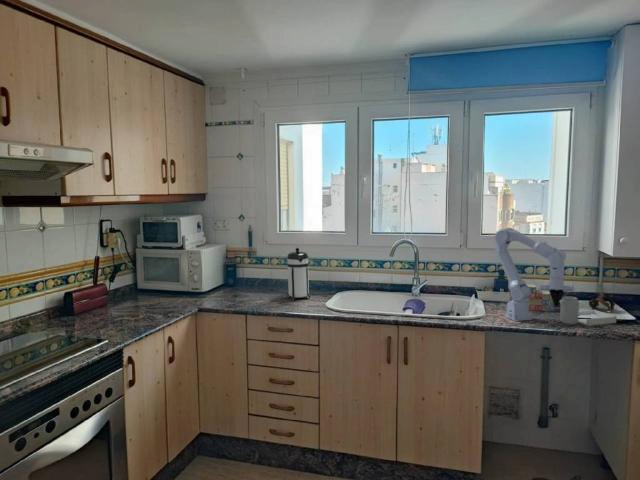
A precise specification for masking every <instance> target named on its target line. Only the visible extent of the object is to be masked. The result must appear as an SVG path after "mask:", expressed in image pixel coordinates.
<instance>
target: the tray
mask: <svg viewBox="0 0 640 480" xmlns="http://www.w3.org/2000/svg"><path fill="white" fill-rule="evenodd" d="M591 314H595V315H597V316H600V317H601V318H591V319H578V324H582V325H585V326H587V327H591V326H592V327H593V326H601V325H611V324H616V323H617V316H615V315H612V314H610V313H607V312H603V311H599V310H597V309H592V310H591V309H585V310H579V316H580V315H591Z"/></svg>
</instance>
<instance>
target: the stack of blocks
mask: <svg viewBox="0 0 640 480" xmlns="http://www.w3.org/2000/svg"><path fill="white" fill-rule="evenodd" d="M526 285H527V286H529V287H530V289H531V295H530V296H529V311H537V312H554V313H555V312H556V307H554V304H553V300H552V297H551V294H550V292H549V291H548V290H542V291H539V290H537V286H536V284H527V283H526ZM512 300H513V298H512V296H511V290H510V289H509V301H512Z"/></svg>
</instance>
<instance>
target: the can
mask: <svg viewBox="0 0 640 480" xmlns="http://www.w3.org/2000/svg"><path fill="white" fill-rule="evenodd" d="M559 309H560V311H559V316H560V317H559V321H560V322H561V323H562V324H564V325H570V326H573V325H577V324H579V322H578V316H579V311H580V301H579V300H578V298H577V297H575V296H568V295H567V296H566V295H565V296H562V297H561V299H560V308H559Z"/></svg>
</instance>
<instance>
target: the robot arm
mask: <svg viewBox="0 0 640 480" xmlns="http://www.w3.org/2000/svg"><path fill="white" fill-rule="evenodd" d="M493 238H494V251H495V253H496V256H497V258H498V260H499V262H500V264H501V266H502V269H503V271H504V273H505V275H506V276H507V279H508V281H509V291H510V290H511V296H512V298H513V300H512V301H510V300H509V301H507V303H506V315H505V317H506V318H507V319H509V320H512V321H514V322H520V321H529V320H530V321H531V320H534V319H533V317H530V310H529V296H530V295H531V289H530V287H529V286H527V285H526V284H527V283H526V281H525V280H524V279H522V278H521V275H520V272H519V271H518V269H517V267H516V265H515V263H514V261H513V258H512V256H511V255H510V252H509V250H508V248H509V246H510V243H511V242H518V243H520V244H523V245H525V246H527V247H529V248H532V249H533V251H534V253H535V254H537V255H540V256H541V257H543V258H544V259H547V260H548V261H549V263H550V264H549V283H548V284H547V285H538V291H549V292H550V294H551V297H552V300H553V304H554V307H555V308H558V307H559V304H560V302H561V299H562V297H564V296H563V295H564V293H565V292H575V290H576V289H575V286H571V285H564V282H565V281H564V280H565V279H564V277H565V260H566V259H567V253H565V251H563V250H562V249H558V248H557V247H555V246H554V247H553V246H551V245H549V244H548V242H546V241H539V242H537V241H536V240H534V239H532V238H531V237H529V236H527V235H526V234H523V233H522V232H520V231H519V230H517V229H514V228H511V227H506V228H501V229H500V228H499V229H498V230H496V232H495V235H494V236H493Z"/></svg>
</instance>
